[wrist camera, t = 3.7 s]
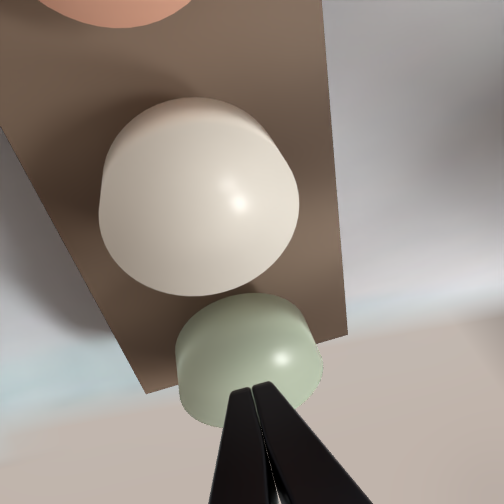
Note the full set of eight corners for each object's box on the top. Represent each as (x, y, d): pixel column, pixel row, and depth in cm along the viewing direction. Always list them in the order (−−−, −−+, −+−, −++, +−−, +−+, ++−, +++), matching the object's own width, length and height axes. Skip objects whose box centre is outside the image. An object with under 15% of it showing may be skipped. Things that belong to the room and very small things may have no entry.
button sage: (157, 317, 14) (159, 357, 12) (299, 276, 14) (316, 312, 13) (194, 402, 16) (200, 443, 15) (313, 367, 17) (328, 404, 15)
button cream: (71, 125, 10) (61, 155, 9) (265, 75, 10) (285, 97, 9) (138, 276, 13) (139, 316, 11) (291, 233, 13) (309, 268, 12)
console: (-125, -218, 9) (-212, -264, 7) (253, -295, 10) (292, -364, 7) (144, 336, 20) (146, 394, 17) (322, 285, 20) (347, 334, 18)
